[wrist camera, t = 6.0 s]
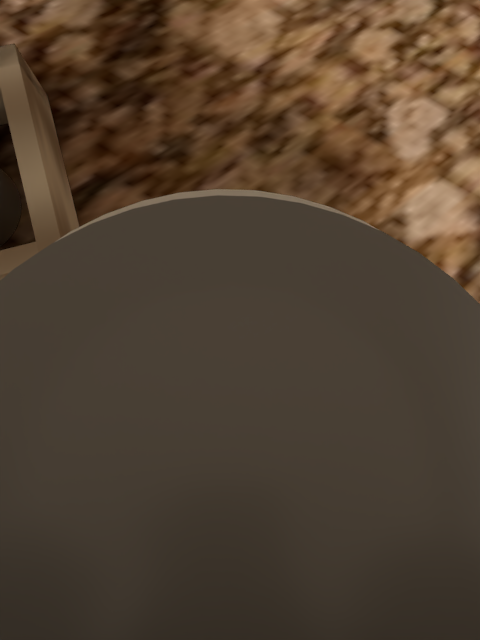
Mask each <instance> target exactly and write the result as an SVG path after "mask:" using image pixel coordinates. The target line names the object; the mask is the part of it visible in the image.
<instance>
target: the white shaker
mask: <svg viewBox="0 0 480 640" xmlns="http://www.w3.org/2000/svg"><path fill="white" fill-rule="evenodd" d="M0 640H480V304H479V303H478V302H477V301H476V300H475V299H474V298H473V297H472V296H471V295H470V294H469V293H468V292H467V291H466V290H465V289H463V288H462V287H461V286H460V285H459V284H458V283H457V282H456V281H455V280H454V279H453V278H452V277H450V276H449V275H448V274H446V273H445V272H444V271H442V270H441V269H440V268H438V267H437V266H436V265H434V264H433V263H432V262H430V261H429V260H428V259H426V258H425V257H424V256H423V255H421V254H420V253H418V252H417V251H415V250H413V249H411V248H410V247H408V246H406V245H405V244H403V243H401V242H399V241H398V240H396V239H394V238H392V237H391V236H389V235H387V234H386V233H384V232H382V231H380V230H378V229H376V228H375V227H373V226H371V225H369V224H368V223H366V222H364V221H362V220H360V219H357V218H355V217H353V216H350V215H348V214H346V213H343V212H341V211H339V210H336V209H334V208H332V207H329V206H326V205H322V204H319V203H315V202H312V201H308V200H305V199H301V198H298V197H294V196H289V195H283V194H276V193H270V192H264V191H257V190H232V189H212V190H202V191H191V192H181V193H175V194H171V195H166V196H162V197H157V198H153V199H148V200H144V201H140V202H137V203H135V204H132V205H129V206H126V207H123V208H121V209H118V210H115V211H112V212H109V213H107V214H104V215H102V216H100V217H98V218H96V219H94V220H92V221H90V222H88V223H86V224H84V225H82V226H80V227H78V228H76V229H74V230H72V231H70V232H69V233H67V234H66V235H64V236H63V237H61V238H60V239H58V240H57V241H55V242H54V243H52V244H50V245H49V246H47V247H46V248H44V249H43V250H41V251H40V252H38V253H37V254H35V255H34V256H32V257H31V258H29V259H28V260H26V261H25V262H23V263H22V264H20V265H19V266H17V267H16V268H14V269H13V270H12V271H11V272H10V273H8V274H7V275H6V276H5V277H4V278H3V279H2V280H0Z"/></svg>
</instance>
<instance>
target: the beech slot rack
mask: <svg viewBox="0 0 480 640" xmlns="http://www.w3.org/2000/svg"><path fill="white" fill-rule="evenodd" d="M7 123H9V127H10V131H11V136H12V140H13V144H14V149H15V153H16V157H17V162H18V166H19V170H20V175H21V179H22V183H23V188H24V192H25V196H26V201H27V205H28V209H29V214H30V218H31V222H32V227H33V231H34V235H35V240H36V242H32V243H28V244H24V245H20V246H16V247H12V248H8V249H4V250H0V280H2V279H3V278H4V277H5V276H6V275H7V274H8V273H10V272H11V271H12V270H13V269H14V268H16V267H17V266H19V265H20V264H22V263H23V262H25V261H26V260H28V259H29V258H31V257H32V256H34V255H35V254H37V253H38V252H40V251H41V250H43V249H44V248H46V247H47V246H49V245H50V244H52V243H54V242H55V241H57V240H58V239H60V238H61V237H63V236H64V235H66V234H67V233H69V232H70V231H72V230H74V229H76V228H78V227H79V223H78V219H77V215H76V211H75V207H74V202H73V198H72V194H71V190H70V186H69V182H68V178H67V174H66V170H65V166H64V162H63V158H62V153H61V149H60V145H59V141H58V137H57V133H56V129H55V125H54V121H53V117H52V113H51V108H50V104H49V100H48V96H47V94H46V93H45V91H44V90H43V88H42V86H41V85H40V83H39V82H38V80H37V79H36V77H35V75H34V74H33V72H32V71H31V69H30V68H29V66H28V64H27V63H26V61H25V60H24V58H23V57H22V55H21V53H20V52H19V50H18V49H17V47H16V46H15V44H10V45H6V46H1V47H0V125H3V124H7Z"/></svg>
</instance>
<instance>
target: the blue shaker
mask: <svg viewBox="0 0 480 640" xmlns="http://www.w3.org/2000/svg"><path fill="white" fill-rule="evenodd" d="M20 215H21V199H20V195H19V192H18V189H17V187H16V185H15V184H14V182H13V181H12V179H11V178H10V177H9V176H8V175H7V174H6V173H5V172H4V171H2V170H1V169H0V247H1V246H2V245H3V244H4V243H6V242H7V240H8V239H9V238H10V237H11V236H12V234H13V233H14V231H15V229H16V227H17V225H18V223H19V220H20Z"/></svg>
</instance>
